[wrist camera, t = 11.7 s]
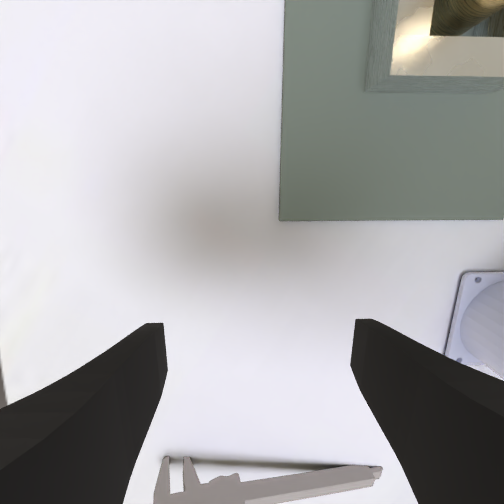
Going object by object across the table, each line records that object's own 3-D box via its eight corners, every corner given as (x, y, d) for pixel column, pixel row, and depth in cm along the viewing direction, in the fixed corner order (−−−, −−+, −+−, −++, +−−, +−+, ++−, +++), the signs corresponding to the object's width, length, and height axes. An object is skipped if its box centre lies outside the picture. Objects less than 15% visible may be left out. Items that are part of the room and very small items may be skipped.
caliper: (163, 461, 26) (140, 550, 20) (164, 452, 25) (140, 539, 19) (378, 471, 27) (417, 556, 21) (380, 462, 27) (421, 547, 21)
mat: (575, -105, 16) (584, -113, 15) (498, 218, 20) (503, 219, 20) (288, -117, 15) (289, -125, 15) (278, 220, 20) (279, 220, 19)
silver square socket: (521, -67, 16) (590, -126, 12) (488, 94, 18) (540, 77, 15) (379, -72, 15) (414, -135, 12) (363, 92, 17) (389, 75, 14)
